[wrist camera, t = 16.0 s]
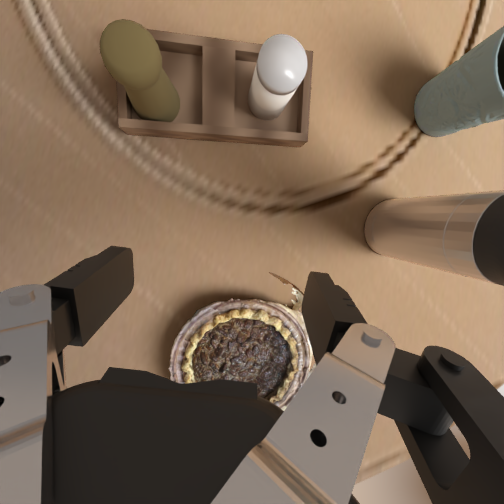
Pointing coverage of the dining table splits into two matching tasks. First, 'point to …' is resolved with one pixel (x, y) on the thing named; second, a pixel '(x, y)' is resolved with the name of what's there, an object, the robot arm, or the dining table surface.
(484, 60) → the teal cup
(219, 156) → the dining table surface
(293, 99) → the cruet caddy
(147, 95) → the olive mushroom knob
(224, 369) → the pie
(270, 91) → the salt shaker
